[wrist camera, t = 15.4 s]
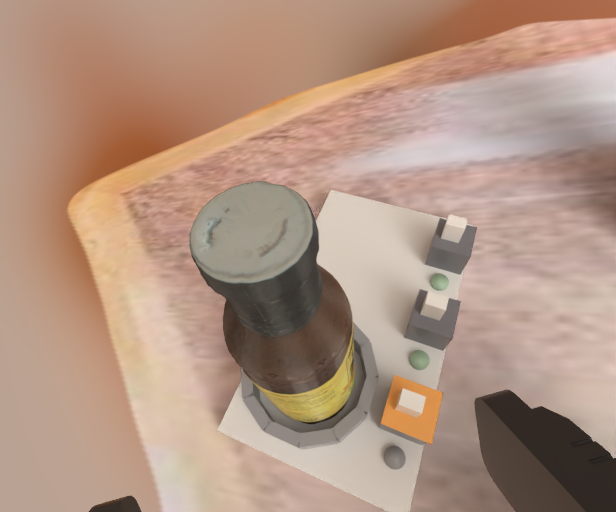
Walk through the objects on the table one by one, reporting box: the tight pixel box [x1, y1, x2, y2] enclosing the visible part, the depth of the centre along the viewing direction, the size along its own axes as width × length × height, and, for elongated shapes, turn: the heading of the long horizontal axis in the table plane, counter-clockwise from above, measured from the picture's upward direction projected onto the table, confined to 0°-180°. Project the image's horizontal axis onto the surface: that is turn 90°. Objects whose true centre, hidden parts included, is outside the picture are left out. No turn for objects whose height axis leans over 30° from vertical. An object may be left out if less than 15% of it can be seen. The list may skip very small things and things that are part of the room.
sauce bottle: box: [190, 181, 355, 424], centre depth 20 cm, size 6×6×20 cm
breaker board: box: [217, 190, 477, 512], centre depth 29 cm, size 24×14×7 cm, turn 158°
